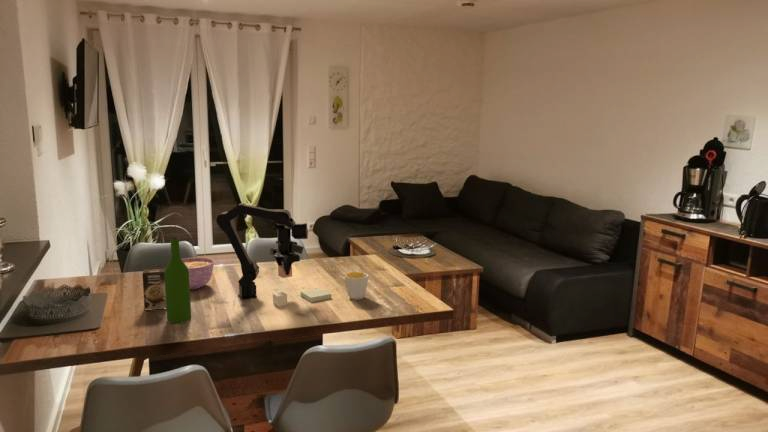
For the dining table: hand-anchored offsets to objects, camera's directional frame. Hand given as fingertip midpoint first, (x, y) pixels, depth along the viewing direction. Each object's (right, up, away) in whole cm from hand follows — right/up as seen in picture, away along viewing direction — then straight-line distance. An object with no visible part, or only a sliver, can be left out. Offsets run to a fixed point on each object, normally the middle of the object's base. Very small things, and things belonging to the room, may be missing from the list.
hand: (285, 273), depth 257 cm
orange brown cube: (0, -1, 0) cm, 1 cm away
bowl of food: (-45, -8, +15) cm, 48 cm away
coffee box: (-51, -13, -14) cm, 54 cm away
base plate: (+13, -10, +1) cm, 17 cm away
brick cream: (-1, -12, -8) cm, 15 cm away
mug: (+31, -11, +2) cm, 33 cm away
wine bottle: (-37, -16, -27) cm, 48 cm away
